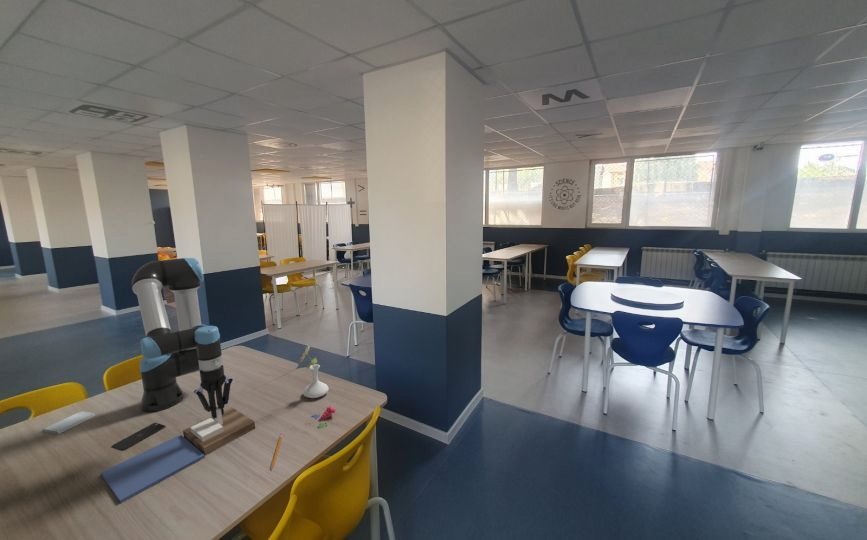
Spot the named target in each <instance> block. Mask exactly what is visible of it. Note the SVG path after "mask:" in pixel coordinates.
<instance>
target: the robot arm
mask: <svg viewBox="0 0 867 540" xmlns="http://www.w3.org/2000/svg"><path fill="white" fill-rule="evenodd" d="M204 277H205V276H204V274H203V270H202V268H201V265H200V262H199V261H198V260H197V259H196V258H195V257H182V258H173V259H172V258H171V259H163V260H162V259H161V260H153V261H152V260H151V261H149V262H147V263H145V264H144V265H142V266H141V267H139V268H138V269H137V270H136V272H135V273H134V275H133V276H132V280H131V290H132V292H133V294H135V295H136V297H137V301H138V306H139V310H140V315H141V319H142V324H143V329H144V332H145V337H143V338H141V339H140V341H139V342H140V348H141V354H142V356H143V357H142V358H141V359H140V360H139V373H140V374H141V382H142V388H143V393H142V396H141V401H140V408H141V409H140V410H141V411H143V412H146V413H147V412H148V413H149V412H151V413H152V412H159V411H163V410H166V409H169V408H171V407H173V406H175V405H177V404H179V403H180V402H182V401H183V399H184V397H185V396H184V391H183V390H182V388H181V386H180V385H179V384H178V382H177V378H178V377H181V376H187V375H189V374H193V373H196V372H199V376H200V385H199V387H198V389H195V390H194V391H193V393H194V394H196V395H197V397H198V399H199V401H200V403H201V405H202V407H203V409H204V411H206V412H208V413H211V415H210V416H211V417H212V418H214V419H215V421H216V422H217V423H219V424H220V425H222V424H223V422H222V415H223V414H224V411H225V410H224V409H225V405H227V404H229V399H230V393H231V392H230V391H231V385H232V383H233V378H232V377H230V376H228V377H227V376H226V375H225V368H224V367H225V366H224V365H223V364H224V361H223V354H222V345H221V333H220V331H219V328H218V326H215V325H206V324H204V323H202V318H201V317H202V316H201V312H200V304H199V303H200V302H199V295H198V289H199V288H201V283H203V282H204ZM166 287H168V291H170V292H172V293H173V295H174V303H175V309H176V310H175V311H176V318H177V323H178V330H179V331H178V330H177V331H173V332H172V328H171V325H170V320H169V315H168V313H167V309H166V306H165V302H164V298H163V294H162V290H163V288H166ZM204 390H205V391H206V393H207V396H208V397H207V398H208V401H207V398H206V397H205V394H204Z"/></svg>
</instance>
